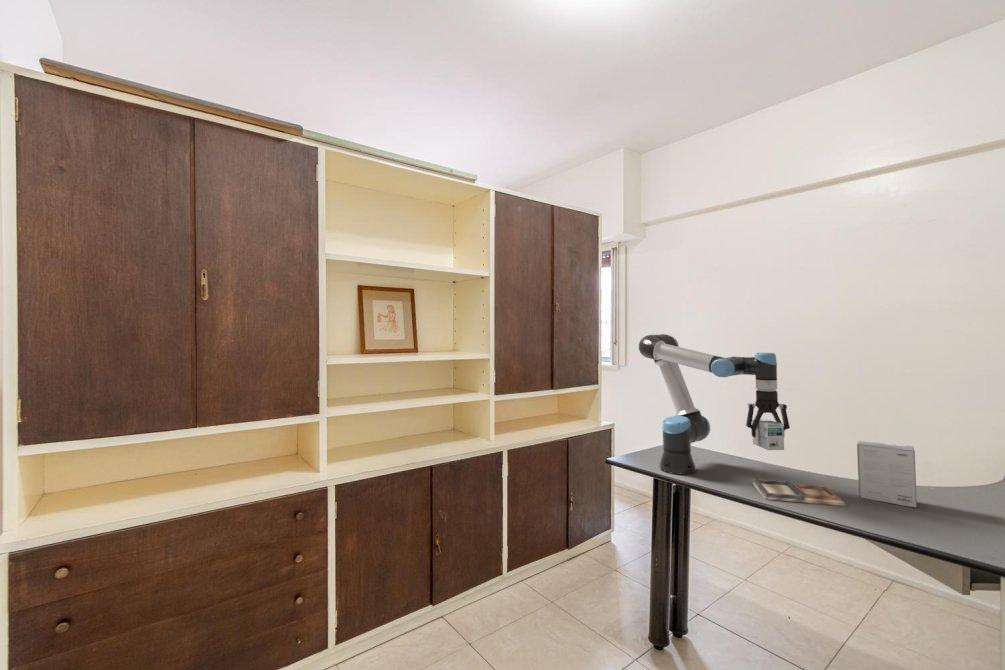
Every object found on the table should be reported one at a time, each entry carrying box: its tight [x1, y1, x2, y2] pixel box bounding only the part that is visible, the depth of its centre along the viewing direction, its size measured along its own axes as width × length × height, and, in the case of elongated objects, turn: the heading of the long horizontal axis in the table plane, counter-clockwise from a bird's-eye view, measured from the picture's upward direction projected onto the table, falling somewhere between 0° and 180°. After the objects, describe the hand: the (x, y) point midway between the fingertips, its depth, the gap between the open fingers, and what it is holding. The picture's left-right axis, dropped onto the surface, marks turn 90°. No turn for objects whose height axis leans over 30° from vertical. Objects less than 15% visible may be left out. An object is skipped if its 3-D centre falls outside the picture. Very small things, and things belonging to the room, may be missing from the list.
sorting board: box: [752, 478, 847, 507], centre depth 159 cm, size 25×16×2 cm, turn 73°
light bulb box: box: [752, 418, 785, 451], centre depth 172 cm, size 11×7×11 cm, turn 0°
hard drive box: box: [856, 440, 918, 508], centre depth 152 cm, size 16×8×20 cm, turn 47°
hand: (768, 445), depth 172 cm, fingers closed on light bulb box, 8 cm apart
